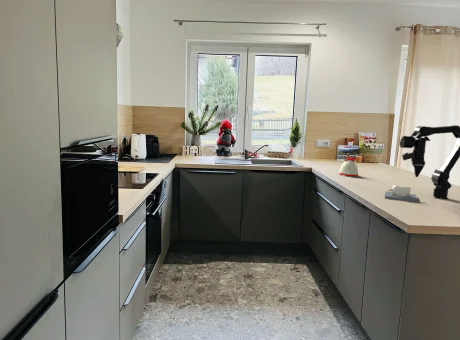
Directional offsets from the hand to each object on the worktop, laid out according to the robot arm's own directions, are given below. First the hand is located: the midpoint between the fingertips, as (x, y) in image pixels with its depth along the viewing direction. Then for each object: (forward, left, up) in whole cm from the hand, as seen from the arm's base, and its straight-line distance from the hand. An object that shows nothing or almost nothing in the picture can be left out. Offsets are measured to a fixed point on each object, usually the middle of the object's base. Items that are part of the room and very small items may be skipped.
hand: (416, 175), depth 208 cm
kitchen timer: (+43, -61, -12) cm, 76 cm away
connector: (+7, +8, -11) cm, 15 cm away
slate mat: (+7, +8, -12) cm, 16 cm away
